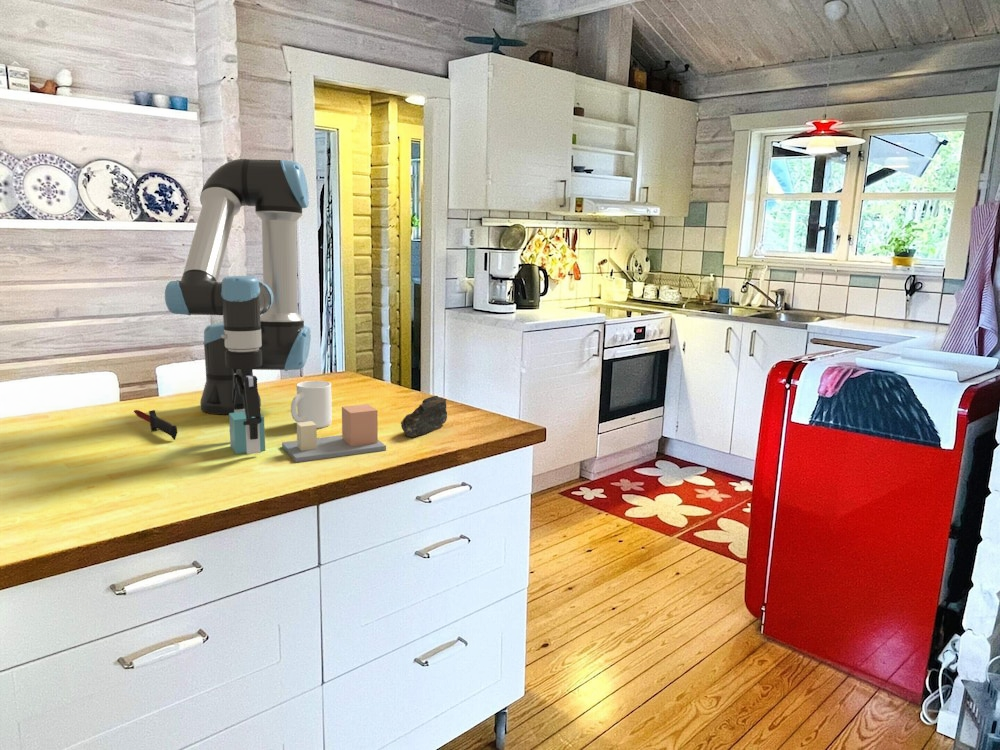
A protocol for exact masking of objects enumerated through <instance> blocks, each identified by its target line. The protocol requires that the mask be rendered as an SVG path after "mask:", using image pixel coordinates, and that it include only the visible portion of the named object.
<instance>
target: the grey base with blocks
mask: <svg viewBox="0 0 1000 750" xmlns="http://www.w3.org/2000/svg"><path fill="white" fill-rule="evenodd" d="M317 429H318V428H317V427H316V424H315V423H314V422H313V421H308V422H299V423H298V422H296V440H292V441H291V440H290V441H282V442H281V447H282V448H283V450H284V451H285V452H286V453H287V454H288V455H289V456H290V457H291V458H292V460H293V461H294V462H295V463H301V462H309V461H315V460H323V459H331V458H339V457H347V456H352V455H361V454H368V453H375V452H376V453H377V452H381V451H387V445H386V444H384V443H383V442H382V441H380V439H378V438H379V437H378V435H379V434H378V431H379V430H378V409H376V408H375V407H373V406H371V405H370V404H368V403H364V404H354V405H346V406H341V431H342V432H341V434H340V435H333V436H332V435H331V436H323V437H318V435H317V433H318V432H317Z"/></svg>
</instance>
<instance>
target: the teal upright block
mask: <svg viewBox="0 0 1000 750" xmlns="http://www.w3.org/2000/svg"><path fill="white" fill-rule="evenodd" d="M252 418H255V417H252ZM261 419H262V422H261V423H259V427H260V451H261V452H262V451H266V436H265V433H266V432H265V430H266V429H265V417H264V415H263V414H262V413H261ZM228 421H229V425H228V426H229V439H230V441H229V442H230V447H231V449H232V451H233V452H234V453H235V455H238V454H239V455H240V454H247V449H246V426H245V425H243V422H244V421H246V415H245V412H236V413H229V414H228Z"/></svg>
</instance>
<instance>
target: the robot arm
mask: <svg viewBox="0 0 1000 750" xmlns="http://www.w3.org/2000/svg"><path fill="white" fill-rule="evenodd" d="M308 189H309V188H308V183H307V179H306V174H305V171H304V169H303V167H302V165H301V164H300V163H299V162H297V161H293V160H285V159H253V158H252V159H250V158H249V159H247V158H238V159H237V158H236V159H233V160H231V161H228V162H226V163H224V164H222V165H221V166H219V168H217V169H215V170H214V172H212V174H211V175H210V176H209V177H208V179H207V180H206V181H205V183H204V184H203V186H202V189H201V192H200V195H199V201H200V205H201V208H200V212H199V215H198V220H197V222H196V223H197V224H196V227H195V229H194V230H195V231H194V234H193V237H192V241H191V245H190V248H189V251H188V256H187V258H186V263H185V266H184V270H183V273H182V275H181V276H182V277H181V278H180V279H176V280H170V281H169V282H168V283H166V286H165V290H164V301H165V305H166V307H167V309H168V311H169V312H170V313H171V314H174V315H175V314H176V315H184V316H191V315H192V316H222V318H223V319H222V320H223V321H222V322H221V321H220V322H216V323H211V324H210V325H209V324H208V325H207V326H206V327H205V328H204V332H203V347H204V361H205V362H204V363H205V384H204V388H203V391H202V393H201V398H200V411H202V412H203V413H207V414H214V415H229V413H236V412H245V415H246V421H244V422H243V425H245V426H246V449H247V453H246V454H247V455H250V454H251V455H252V454H260V453H261V452H262V451H260V427H259V423H261V422H262V419H261V414H262V413H261V407H262V404H261V403H262V402H261V396H260V393H259V390H258V389H259V388H258V377H257V376H256V375H254V372H253V370H254V371H255V370H256V371H257V370H258V371H259V370H260V371H263V370H265V371H269V370H271V371H272V370H273V371H285V372H286V371H295V370H301V369H303V368H304V367H305V365H306V363H307V360H308V357H309V354H310V346H311V328H310V327H309V326H307V325H305V319H304V318H303V317H302V316H301V315H300V314H299V312H298V309H299V308H298V307H299V306H298V305H299V304H298V256H297V255H298V253H297V251H298V249H297V248H298V245H297V244H298V242H297V238H298V237H297V222H298V220H299V219H300V218H301V217H302V216H303V209H307V208H308V207H309V203H310V202H309V199H310V196H309V190H308ZM247 206H248V207H254V209H255V211H254V212H255V214H256V215H257V216H258V217H259V218H260V219H261V242H262V244H261V245H262V246H261V247H262V281H259V279H258V278H257V277H255V276H253V275H252V276H250V275H229V276H225V277H223V278H222V281H219V276H220V273H221V270H222V266H223V260H224V257H225V252H226V249H227V244H228V243H229V237H230V233H231V230H232V226H233V222H234V217H235V216H236V215H238V213H239V212H240V211H241V207H247ZM252 417H255V418H252Z"/></svg>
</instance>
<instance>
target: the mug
mask: <svg viewBox="0 0 1000 750" xmlns="http://www.w3.org/2000/svg"><path fill="white" fill-rule="evenodd" d="M332 403H333V402H332V383H331V382H329V381H325V380H307V381H305V380H304V381H301V382H298V383H297V384H296V395H295V396H294V397H293V399H292V401H291V403H290V404H291V405H290V414H291V415H290V416H291V417H292V420H294V422H295V423H299V422H308V421H313V422H314V423H315V424H316V427H317V429H322V428H326V427H329V426H330V425H331V424H332V422H333V421H332V419H333V412H332V411H333V409H332V406H333V405H332Z"/></svg>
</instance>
